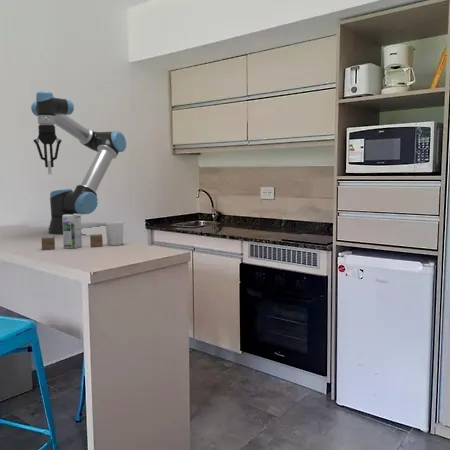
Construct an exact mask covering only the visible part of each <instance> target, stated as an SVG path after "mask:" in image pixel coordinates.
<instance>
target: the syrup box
mask: <svg viewBox="0 0 450 450" xmlns="http://www.w3.org/2000/svg"><path fill="white" fill-rule="evenodd" d="M81 216H82V214H74V215H73V214H66V215H62V221H63V234H62V235H63V236H62V237H63V238H62V239H63V249H72V250H73V249H77V248H81V247H82V246H83V240H82V239H83V238H82V218H81Z"/></svg>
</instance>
